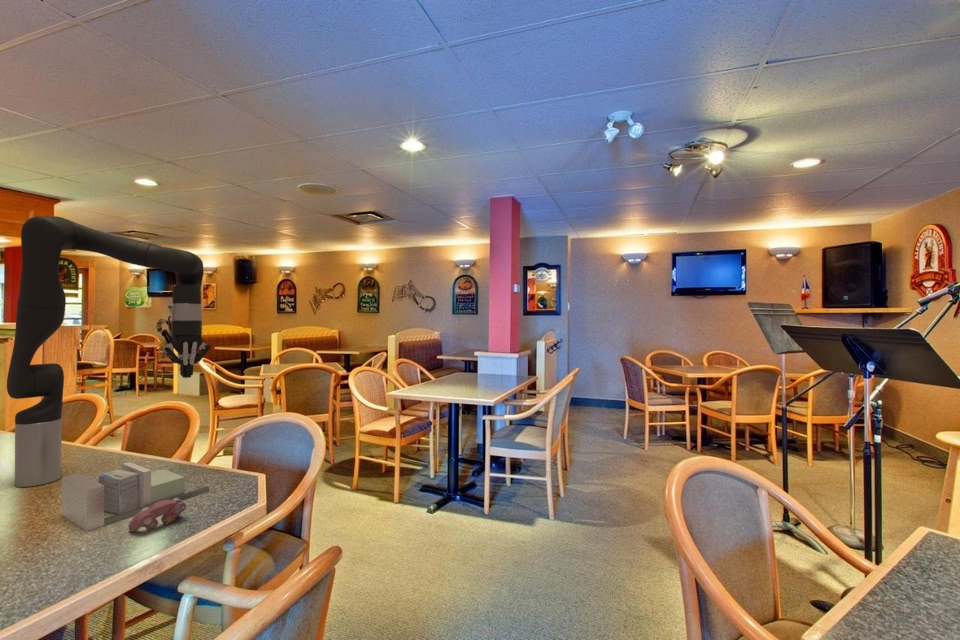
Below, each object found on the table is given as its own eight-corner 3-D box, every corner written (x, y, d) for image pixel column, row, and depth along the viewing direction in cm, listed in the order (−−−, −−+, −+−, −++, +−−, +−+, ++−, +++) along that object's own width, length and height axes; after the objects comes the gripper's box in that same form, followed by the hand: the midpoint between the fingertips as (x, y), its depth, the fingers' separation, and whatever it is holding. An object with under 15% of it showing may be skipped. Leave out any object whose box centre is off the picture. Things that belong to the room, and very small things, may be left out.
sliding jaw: (122, 499, 110) (122, 463, 110) (162, 487, 118) (162, 454, 118) (143, 509, 104) (144, 472, 104) (184, 496, 112) (184, 461, 112)
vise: (61, 515, 101) (61, 477, 101) (181, 480, 123) (181, 449, 123) (86, 531, 94) (87, 490, 94) (209, 491, 116) (209, 457, 116)
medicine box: (139, 508, 105) (139, 472, 105) (118, 516, 101) (119, 479, 101) (119, 503, 108) (119, 468, 108) (98, 510, 104) (98, 474, 104)
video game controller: (133, 543, 92) (140, 517, 90) (125, 528, 94) (131, 503, 92) (184, 524, 100) (191, 500, 99) (175, 511, 102) (182, 488, 101)
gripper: (203, 319, 135) (203, 374, 135) (155, 319, 123) (154, 379, 123) (216, 319, 131) (216, 375, 131) (168, 319, 120) (167, 381, 120)
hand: (186, 377), depth 127 cm, fingers closed
